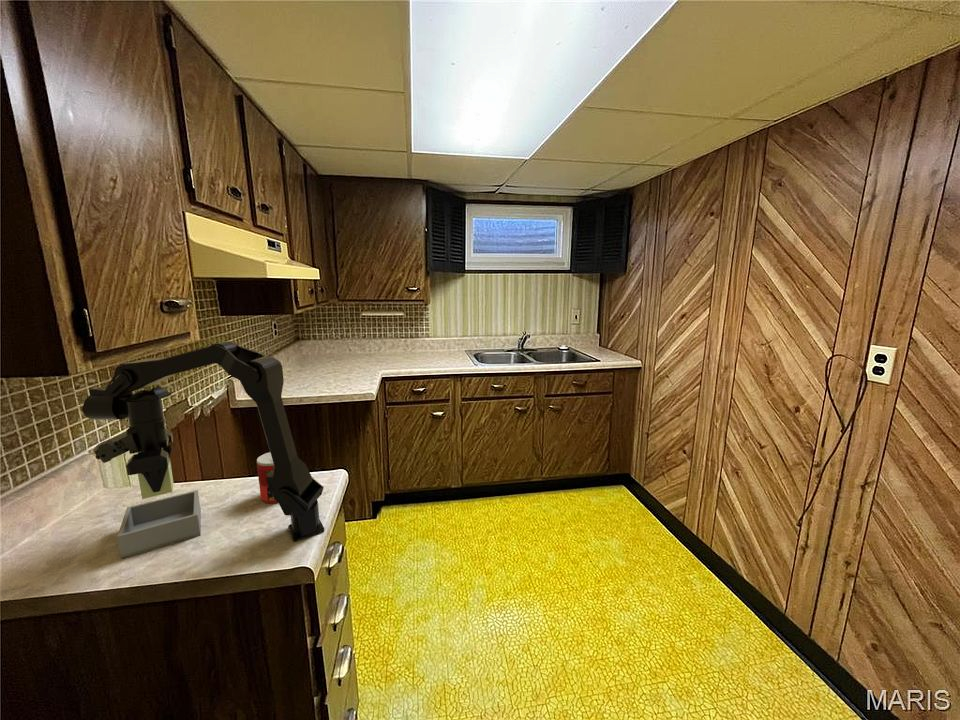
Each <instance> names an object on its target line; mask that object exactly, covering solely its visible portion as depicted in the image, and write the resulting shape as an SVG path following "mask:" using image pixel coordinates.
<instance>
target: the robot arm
mask: <svg viewBox="0 0 960 720" xmlns="http://www.w3.org/2000/svg"><path fill="white" fill-rule="evenodd" d="M212 364H216V365H219V366H220V367H221V368H222V369H223V371H225V373H226V374H227V375H228V376H230V377H232V378H235V379H237V380H238V381H240V384H241V386H242V389H243V390H244V393H246V395H247V396H248V397H249V398H250V399H251V400H252V401H253V402H255V404H256V408H257V411H258V414H259V417H260V422H261V424H262V428H263V432H264V435H265V439H266V442H267V445H268V446H267V447H268V450H269V452H270V453H271V456H272V460H273V463H274V471H273V472H272V473H271V474H270V475H269V476H268V477H267V478H266V482H267V484H268V486H269V489H270V496H271V495H273V498H274V500H275V501H276V502H277V503H276V504H278V505H279V506H280V507H279V508H281V511H282V512H283V514H284V516H290V521H291V522H290V523H291V524H288V527H287V529H288V531H289V535H290V536H291V537H290V538H291V539H292V541H293V542H298V541H300V540H303V539H306V538H309V537H312V536H314V535H319V534H320V533H323V532H325V527H324V525H323V523H322V521H321V519H320V511H319V502H318V499H319V498H320V497H321V496H322V494H323V490H324V486H323V485H322V484H321V483H319V482H318V481H317V480H316V479H315V478H314V477H313V476H312V474H311V472H310V469H309V468H308V466H307V464H306V463H305V462H304V461H302V459H301V458H299V455H298V452H297V449H296V446H295V442H294V439H293V434H292V431H291V428H290V424H289V419H288V415H287V413H286V409H285V405H284V401H283V398H282V393H283V387H284V382H285V381H284V370H283V369H284V368H283V365H282V363H281V362H280V360H279V359H277V358H275V357H273V356H269V355H267V356H266V355H265V354H262V353H261V352H258V351H256V350H252V349H249V348H246V347H242V346H241V345H239V344H237V343H236V342H232V341H229V340H228V341H227V340H224V341H220V342H216V343H212V344H210V345H209V346H206V347H202V348H198V349H194V350H191V351H187V352H183V353H179V354H176V355H172V356H168V357H153V358H152V357H150V358H144V359H139V360H135V361H130V362H125V363H121V364H118V365H117V366H116V367H115V368H114V372H113V376H112V377H111V379H110V380H109V383H108V385H107V386H106V387H105V386H96V387H94V388H90V389H89V390H88V391H89V395H88V396H87V397H86V398H85V400H84V401H83V404H82V406H81V411H82V413H83V415H84V416H85V417H86V418H87V419H89V420H92V421H99V420H100V421H102V420H103V421H104V420H105V421H107V420H108V421H109V420H110V421H111V420H114V421H115V420H116V421H117V420H119V421H120V420H125V419H128V428H127V429H126V432H123V433H120V434H118V435H115V436H113V437H110V438H108V439H106V440H104V441H102V442H99V443H97V444H96V446H95V448H94V449H93V452H94V453H95V454H94V455H95V456H94V457H95V459H96V460H100V461H101V462H102V463H103V464H105V463H108V462H111V460H112V459H115V458H118V457H119V456H121V455H123V454H125V453H128V452H129V455H132V456H131V457H130V458H129V459H128V461H127V462H126V466H125V469H126V475H127V476H134V475H138V474H139V473H140V474H143V476H144V477H145V479H146V480H147V482H148V484H149V486H150V487H151V489H152V491H153V492H159V491H160V489H161V486H162V483H163V480H164V477H165V474H166V471H167V468H168V465H169V461H170V462H171V458H170V456H171V453H172V448H173V445H172V443H174V436H173V435H174V434H173V431H170V430H169V429H167V426H166V423H167V419H166V417H165V416H164V414H165V413H164V410H163V409H164V408H163V403H162V399H164V398H168V397H170V396H172V392H171V391H169V390H167V389H164V388H163V387H162V386H161V385H160V386H159V385H158V384H159V383H163V381H166V380H168V379H170V378H171V377H173V376H175V375H176V374H179V373H183V372H187V371H191V370H195V369H198V368H202V367H205V366H206V367H207V366H209V365H212ZM154 385H158V386H156V387H152V388H151V389H144V388H147V387H151V386H154ZM141 389H143V390H141ZM135 391H136V392H135ZM133 392H134V393H133ZM169 458H170V459H169Z"/></svg>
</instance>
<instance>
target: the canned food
mask: <svg viewBox="0 0 960 720" xmlns="http://www.w3.org/2000/svg"><path fill="white" fill-rule="evenodd" d="M256 470H257V477H258V486H259V494H260V499H261V500H262V502H264V503H265V504H278V503H277V502H276V501H275V500H274V498H273V495H271V496H270V489H269V486H268V484H267V482H266V478H267V477H268V476H269V475H270V474H271V473H272V472H273V471H274V463H273V460H272V456H271V453H270V451H269V452H266V453H264V454H262V455H260V456H258V457H257V459H256Z"/></svg>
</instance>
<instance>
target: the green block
mask: <svg viewBox="0 0 960 720" xmlns="http://www.w3.org/2000/svg"><path fill="white" fill-rule="evenodd" d="M169 459H170V461H169V465H168V468H167V471H166V474H165V477H164V480H163V483H162V486H161V489H160V491H159V492H153V491H152V489H151V487H150V486H149V484H148V482H147V480H146V479H145V477H144V476H143V474H140V473H139V474H137V477H138V481H139V487H140V489H139V490H140V494H141V500H145V499H150V498H153V497H157V496H162V495H167V494H170V493H173V489H174V478H173V471H172V463H171V458H170V457H169Z"/></svg>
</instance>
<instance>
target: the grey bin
mask: <svg viewBox="0 0 960 720" xmlns="http://www.w3.org/2000/svg"><path fill="white" fill-rule="evenodd" d="M201 513H202V511H201V502H200V496H199V489H196V490H193V491H188V492H184V493H180V494H176V495H171V496H167V497H164V498H160V499H156V500H151V501H147V502H142V503H139V504H134V505H131V506H130V505H129V506H126V509H125V512H124V516H123V518H122V520H121V521H122V522H121V525H120V527H119V530H118V534H117V535H116V538H117V544H118V549H119V555H120V558H121V559H120V560H122V559H123V560H124V559H126V558H130V557H133V556H137V555H139V554H143V553H147V552H150V551H153V550H156V549H160V548H163V547H166V546H169V545H173V544H176V543H181V542H183V541H186V540H190V539H193V538H197V537H200V536H201V532H202V531H201V529H202V528H201V517H202V515H201Z"/></svg>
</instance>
